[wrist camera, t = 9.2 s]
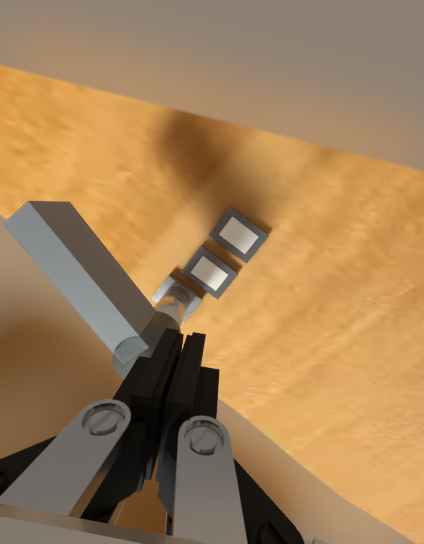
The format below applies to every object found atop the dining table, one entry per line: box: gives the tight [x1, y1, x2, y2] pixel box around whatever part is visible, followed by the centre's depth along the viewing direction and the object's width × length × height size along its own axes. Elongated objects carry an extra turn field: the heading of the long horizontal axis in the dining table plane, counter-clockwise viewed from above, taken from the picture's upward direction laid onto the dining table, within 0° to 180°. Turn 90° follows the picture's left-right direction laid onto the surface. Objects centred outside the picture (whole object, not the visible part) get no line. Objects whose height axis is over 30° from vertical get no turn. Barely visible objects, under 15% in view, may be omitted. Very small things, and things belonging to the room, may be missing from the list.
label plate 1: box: [181, 246, 238, 299], centre depth 25 cm, size 4×3×1 cm
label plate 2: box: [209, 206, 268, 263], centre depth 24 cm, size 4×3×1 cm
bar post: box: [152, 274, 203, 327], centre depth 23 cm, size 4×3×7 cm
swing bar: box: [3, 201, 181, 380], centre depth 16 cm, size 3×12×4 cm, turn 35°
